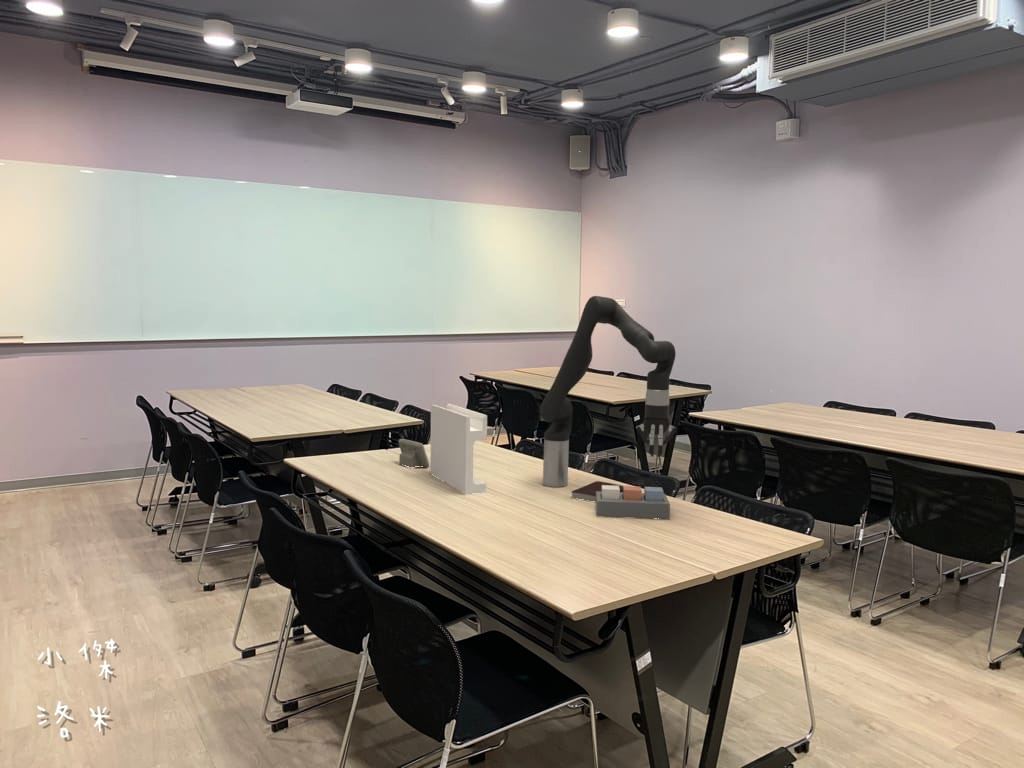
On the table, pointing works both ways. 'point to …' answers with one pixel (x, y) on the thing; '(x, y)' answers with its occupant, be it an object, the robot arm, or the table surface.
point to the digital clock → (412, 454)
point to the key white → (610, 492)
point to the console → (632, 507)
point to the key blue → (653, 494)
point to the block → (456, 446)
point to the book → (591, 490)
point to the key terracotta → (632, 493)
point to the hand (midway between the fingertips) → (655, 456)
